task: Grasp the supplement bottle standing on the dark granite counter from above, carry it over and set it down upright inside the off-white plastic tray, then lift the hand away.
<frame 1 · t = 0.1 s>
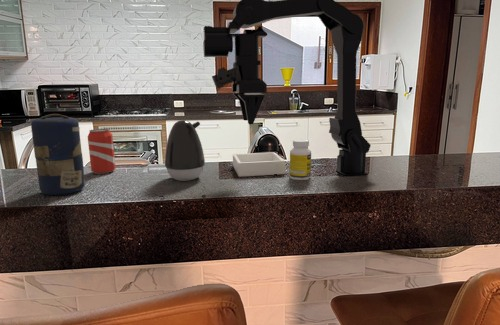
hand: (248, 122, 90), 15 cm above the table, tool pointing down, fingers open, 9 cm apart
beverage can: (103, 172, 102), on the table
supplement bottle: (300, 178, 93), on the table
pump dispenser: (186, 179, 94), on the table
tray: (257, 169, 102), on the table
canister: (64, 192, 84), on the table
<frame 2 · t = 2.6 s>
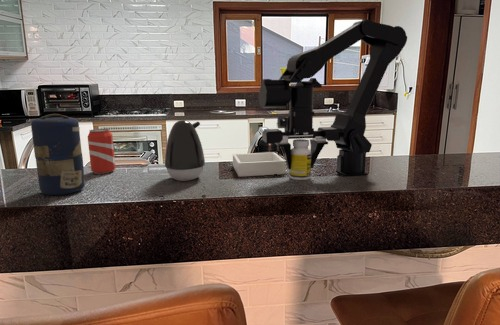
hand: (300, 168, 93), 3 cm above the table, tool pointing down, fingers closed on supplement bottle, 5 cm apart
supplement bottle: (300, 178, 93), on the table, touching gripper
everything else where it was.
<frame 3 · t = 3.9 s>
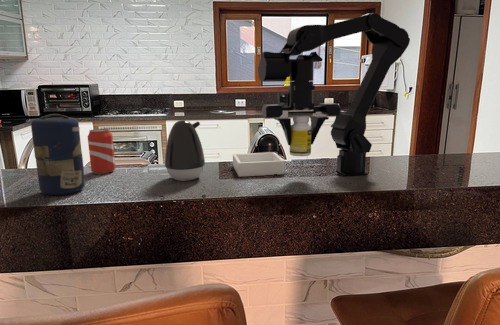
hand: (300, 144, 91), 9 cm above the table, tool pointing down, fingers closed on supplement bottle, 5 cm apart
supplement bottle: (300, 155, 92), point 6 cm above the table, touching gripper
everything else where it was.
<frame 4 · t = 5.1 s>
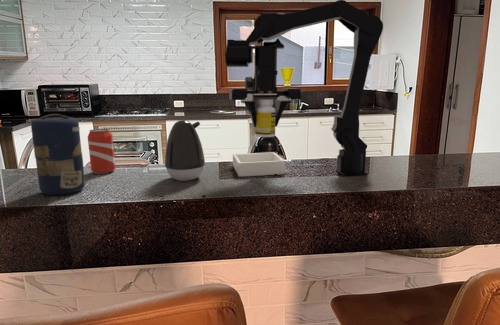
hand: (265, 126, 97), 12 cm above the table, tool pointing down, fingers closed on supplement bottle, 5 cm apart
supplement bottle: (265, 136, 98), point 10 cm above the table, touching gripper
everything else where it was.
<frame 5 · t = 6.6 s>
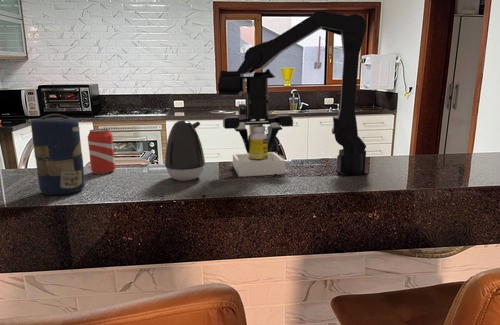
hand: (258, 152, 101), 5 cm above the table, tool pointing down, fingers closed on supplement bottle, 5 cm apart
supplement bottle: (258, 161, 102), point 2 cm above the table, touching gripper
everything else where it was.
when the fingers open (4 cm above the table, at t = 7.6 s): supplement bottle drops 1 cm, resting on tray.
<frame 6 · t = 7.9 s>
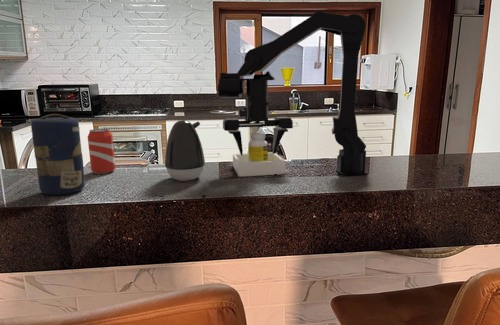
hand: (257, 154, 101), 4 cm above the table, tool pointing down, fingers open, 9 cm apart
supplement bottle: (258, 168, 102), resting on tray
everything else where it was.
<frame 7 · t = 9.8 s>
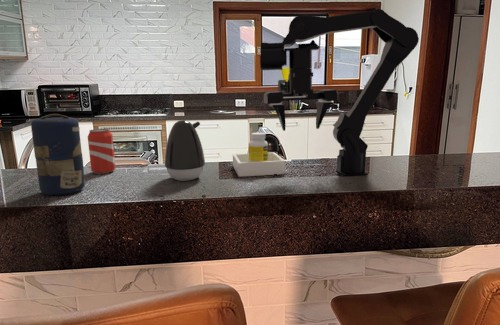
hand: (300, 129, 96), 12 cm above the table, tool pointing down, fingers open, 9 cm apart
nothing on the table moved.
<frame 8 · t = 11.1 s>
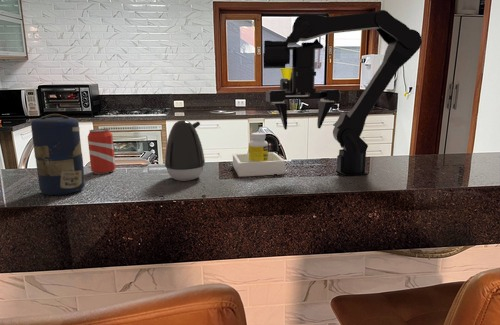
hand: (302, 128, 96), 12 cm above the table, tool pointing down, fingers open, 9 cm apart
nothing on the table moved.
at the end: supplement bottle inside the target area on the tray (0.1 cm from its centre), point 0.4 cm above the tray's base; supplement bottle tilted 0°; the gripper is holding nothing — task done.
